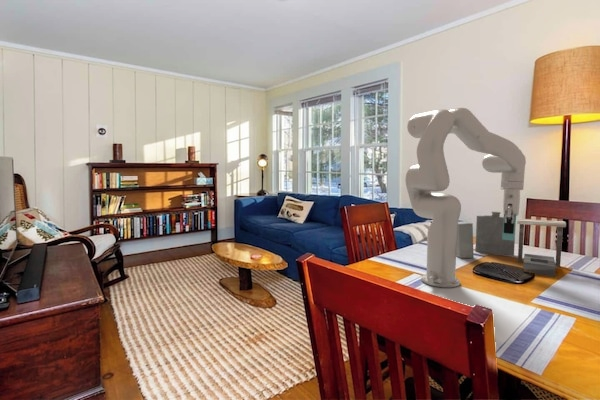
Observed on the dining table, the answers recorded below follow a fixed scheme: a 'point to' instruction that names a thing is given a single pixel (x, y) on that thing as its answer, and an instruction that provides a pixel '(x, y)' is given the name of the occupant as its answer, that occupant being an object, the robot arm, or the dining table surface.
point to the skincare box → (464, 240)
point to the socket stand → (539, 262)
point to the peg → (506, 235)
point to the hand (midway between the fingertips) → (508, 232)
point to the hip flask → (492, 236)
